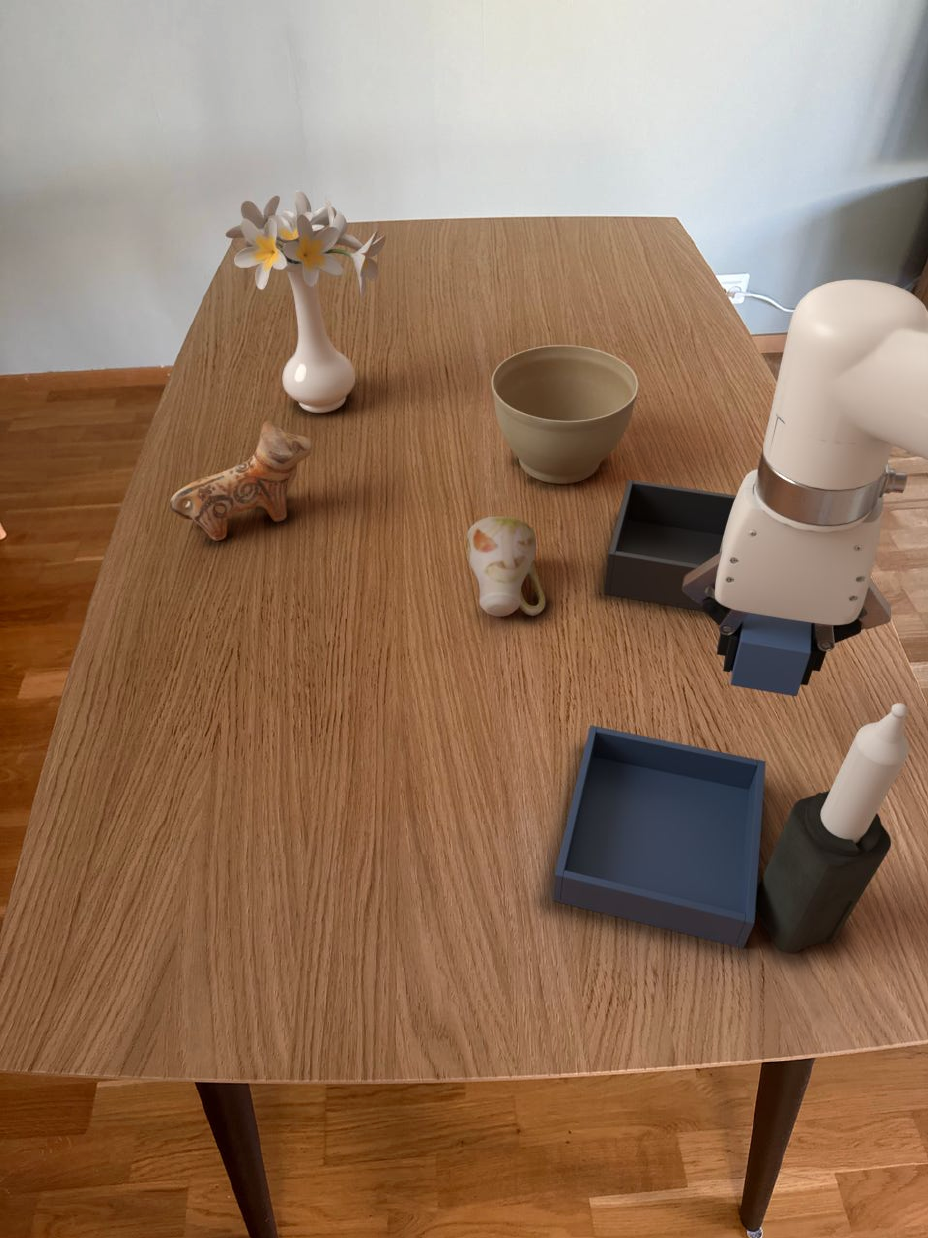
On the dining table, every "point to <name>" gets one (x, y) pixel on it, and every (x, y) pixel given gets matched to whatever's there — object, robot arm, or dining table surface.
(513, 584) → the mug
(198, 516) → the figurine
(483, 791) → the dining table surface
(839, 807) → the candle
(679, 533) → the charcoal bin
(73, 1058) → the dining table surface
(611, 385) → the planter bowl
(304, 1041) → the dining table surface
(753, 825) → the blue bin
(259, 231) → the flower vase
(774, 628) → the blue block
